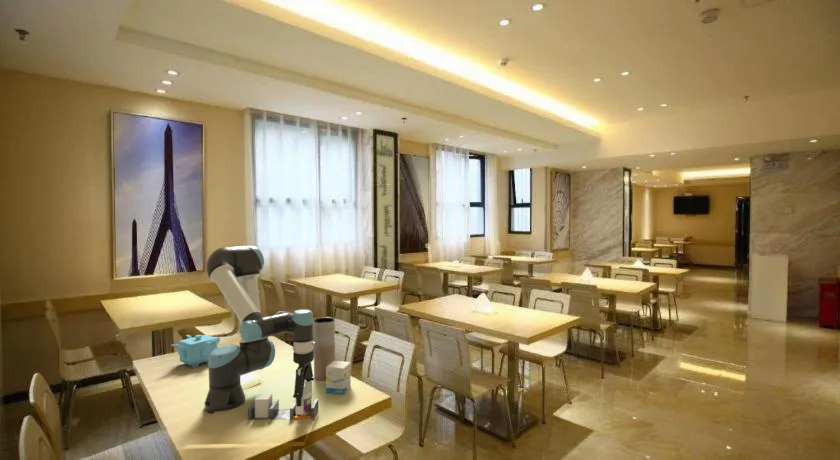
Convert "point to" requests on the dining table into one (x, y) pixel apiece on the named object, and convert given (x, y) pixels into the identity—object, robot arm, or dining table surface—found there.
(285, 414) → the rack
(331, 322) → the vase
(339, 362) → the ink box
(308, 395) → the pill bottle
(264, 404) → the filler block
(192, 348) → the teakettle
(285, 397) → the dining table surface
